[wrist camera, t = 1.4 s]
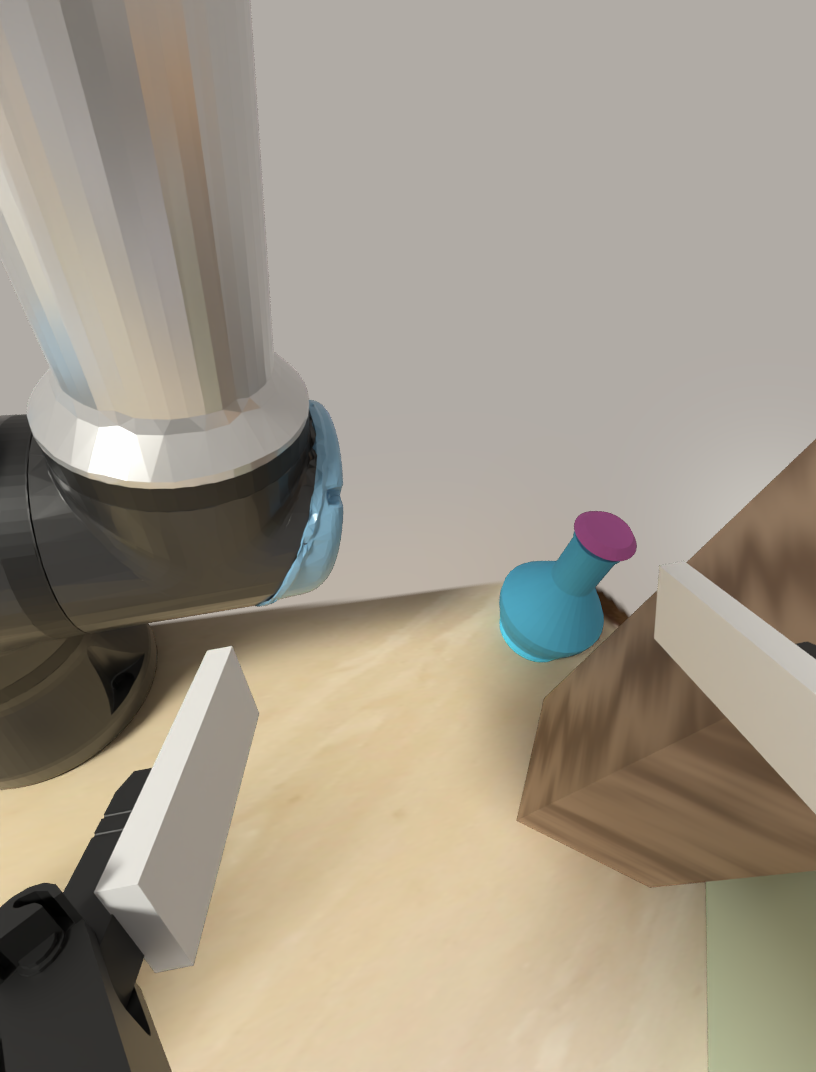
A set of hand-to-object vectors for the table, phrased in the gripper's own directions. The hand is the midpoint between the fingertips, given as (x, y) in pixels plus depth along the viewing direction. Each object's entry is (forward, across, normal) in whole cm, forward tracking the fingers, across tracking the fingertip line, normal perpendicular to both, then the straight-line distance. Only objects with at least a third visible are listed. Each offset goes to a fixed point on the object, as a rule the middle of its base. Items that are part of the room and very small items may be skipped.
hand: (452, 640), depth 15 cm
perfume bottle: (+24, +10, -20) cm, 33 cm away
